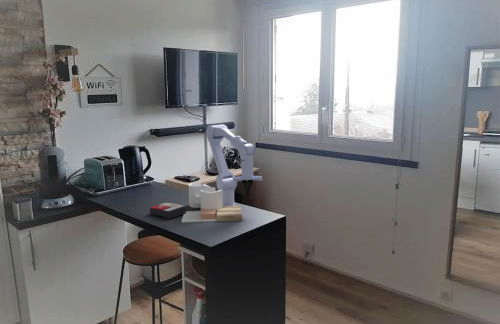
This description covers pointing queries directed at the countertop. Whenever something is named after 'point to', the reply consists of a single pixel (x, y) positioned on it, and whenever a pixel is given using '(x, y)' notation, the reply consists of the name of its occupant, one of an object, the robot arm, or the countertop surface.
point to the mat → (195, 217)
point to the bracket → (204, 196)
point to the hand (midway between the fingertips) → (247, 194)
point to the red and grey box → (168, 210)
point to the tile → (208, 213)
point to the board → (229, 213)
